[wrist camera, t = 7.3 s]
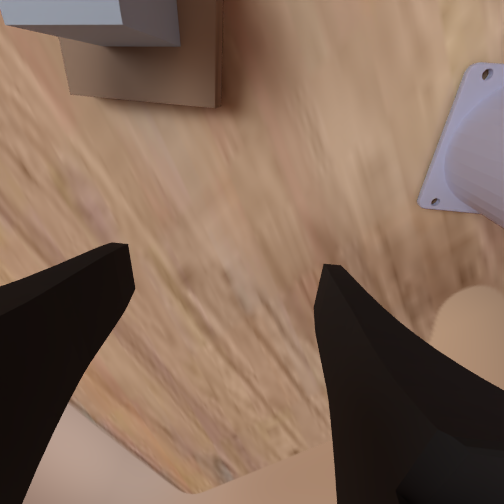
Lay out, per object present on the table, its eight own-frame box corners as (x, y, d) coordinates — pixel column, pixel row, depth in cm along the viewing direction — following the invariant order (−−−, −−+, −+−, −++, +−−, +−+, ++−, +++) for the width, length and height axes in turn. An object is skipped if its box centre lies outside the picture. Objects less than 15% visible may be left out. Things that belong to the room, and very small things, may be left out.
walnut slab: (227, -82, 14) (217, -113, 12) (222, 105, 18) (214, 108, 16) (64, -93, 14) (25, -126, 12) (95, 93, 18) (70, 94, 16)
